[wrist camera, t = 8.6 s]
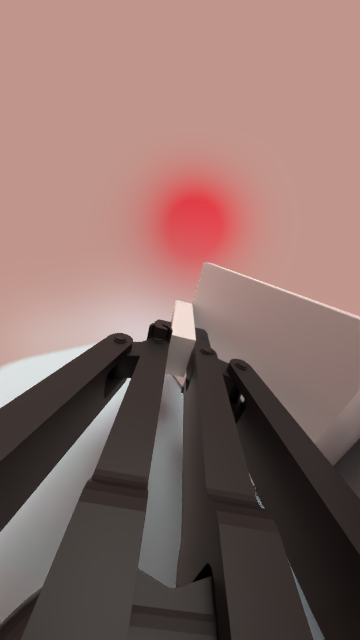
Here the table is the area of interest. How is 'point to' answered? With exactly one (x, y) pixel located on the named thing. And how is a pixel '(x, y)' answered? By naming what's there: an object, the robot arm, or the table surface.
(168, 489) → the table surface
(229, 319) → the door
